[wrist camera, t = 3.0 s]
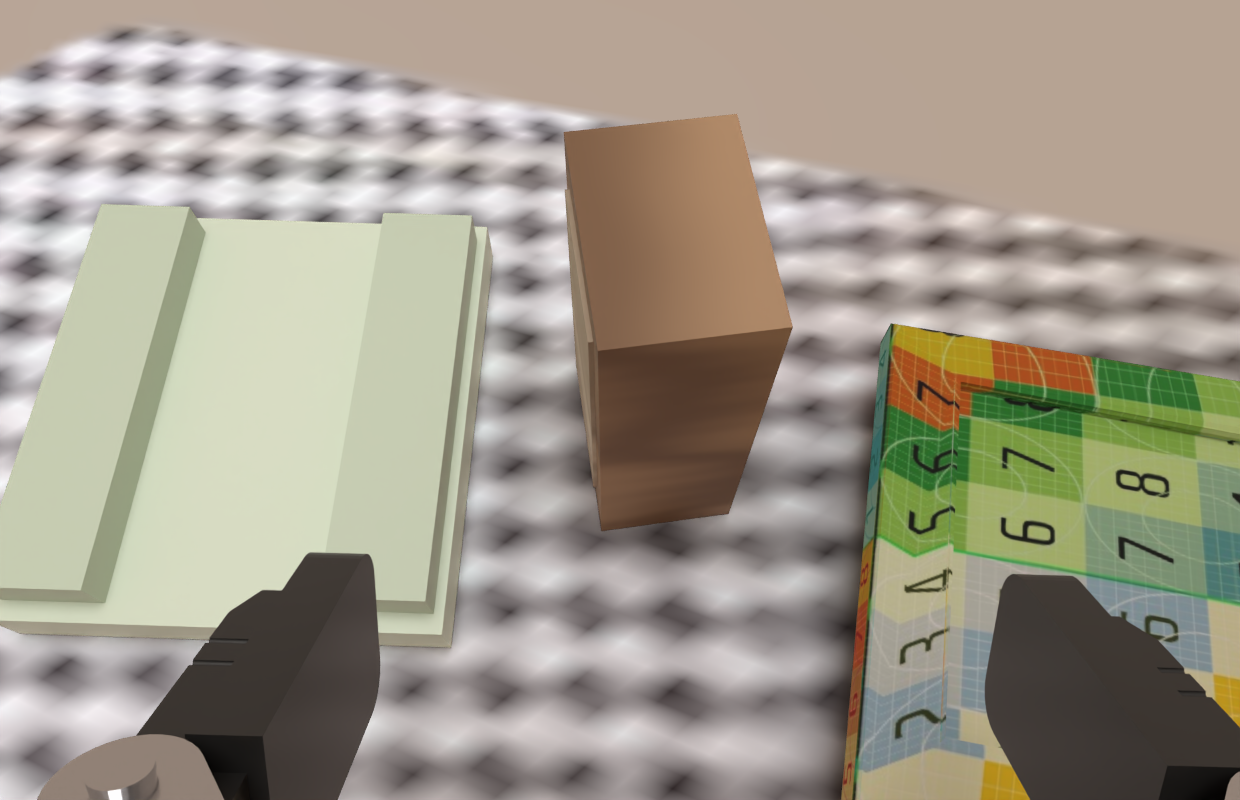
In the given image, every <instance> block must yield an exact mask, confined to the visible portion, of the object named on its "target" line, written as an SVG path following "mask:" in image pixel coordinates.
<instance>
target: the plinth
mask: <svg viewBox="0 0 1240 800" xmlns="http://www.w3.org/2000/svg"><path fill="white" fill-rule="evenodd" d="M492 259H493V255H492V249H491V244H490V239H489V234H488V228H487V227H474V223H473V218H472V216H465V215H433V214H400V213H384V214H383V219H382V224H369V223H336V222H304V221H271V220H239V219H206V218H196V217H195V215H194V213H193V212H192V210H191V209H190V207H173V206H140V205H108V204H101V207H100V210H99V213H98V216H97V219H96V221H95V224H94V227H93V230H92V233H91V236H90V239H89V242H88V245H87V248H86V251H85V254H84V257H83V260H82V263H81V266H80V269H79V272H78V275H77V278H76V281H75V284H74V287H73V290H72V293H71V296H70V299H69V302H68V305H67V308H66V311H65V314H64V317H63V320H62V323H61V326H60V329H59V332H58V335H57V338H56V341H55V344H54V347H53V350H52V353H51V356H50V359H49V362H48V365H47V368H46V371H45V374H44V377H43V380H42V383H41V386H40V388H39V391H38V394H37V397H36V400H35V403H34V406H33V409H32V412H31V415H30V418H29V421H28V424H27V427H26V430H25V433H24V436H23V439H22V442H21V445H20V448H19V451H18V454H17V457H16V460H15V463H14V466H13V469H12V472H11V475H10V478H9V481H8V484H7V487H6V490H5V493H4V496H3V499H2V502H1V505H0V626H2V627H5V628H7V629H10V630H12V631H15V632H17V633H20V634H46V635H77V636H108V637H139V638H170V639H201V640H209V638H210V636H211V635H212V634H213V632H214V631H215V630H216V628H217V627H218V626H219V624H220V623H221V622H222V620H223V619H224V618H225V616H226V615H227V614H228V612H229V611H231V610H232V609H234V608H236V607H237V606H239V605H240V604H242V603H243V602H245V601H246V600H248V599H249V598H251V597H252V596H254V595H255V594H257V593H258V592H260V591H262V590H282V589H283V588H284V586H285V585H286V584H287V582H288V581H289V579H290V578H291V576H292V575H293V573H294V572H295V570H296V569H297V567H298V566H299V564H300V563H301V561H302V560H303V558H304V557H305V556H306V555H307V554H308V553H310V552H322V553H356V554H369V555H370V556H371V559H372V562H373V566H374V574H375V589H376V604H377V620H378V636H379V645H387V646H419V647H450V648H451V643H452V634H453V625H454V615H455V606H456V597H457V587H458V578H459V568H460V559H461V550H462V540H463V531H464V522H465V512H466V503H467V493H468V484H469V475H470V465H471V456H472V447H473V437H474V428H475V419H476V409H477V400H478V390H479V381H480V372H481V362H482V353H483V344H484V334H485V325H486V315H487V306H488V297H489V287H490V278H491V269H492Z"/></svg>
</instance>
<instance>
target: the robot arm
mask: <svg viewBox="0 0 1240 800" xmlns="http://www.w3.org/2000/svg"><path fill="white" fill-rule="evenodd" d="M379 678H380V651H379V636H378V620H377V604H376V589H375V574H374V566H373V562H372V559H371V556H370V555H369V554H356V553H322V552H310V553H308V554H307V555H306V556H305V557H304V558H303V560H302V561H301V563H300V564H299V566H298V567H297V569H296V570H295V572H294V573H293V575H292V576H291V578H290V579H289V581H288V582H287V584H286V585H285V586H284V588H283V589H282V590H262V591H260V592H258V593H257V594H255V595H254V596H252V597H251V598H249V599H248V600H246V601H245V602H243V603H242V604H240V605H239V606H237V607H236V608H234V609H232V610H231V611H229V612H228V614H227V615H226V616H225V618H224V619H223V620H222V622H221V623H220V624H219V626H218V627H217V628H216V630H215V631H214V632H213V634H212V635H211V636H210V638H209V643H205V644H204V646H203V647H202V648H201V650H200V651H199V652H198V654H197V655H196V656H195V658H194V659H193V665H189V666H188V667H187V668H186V670H185V671H184V673H183V674H182V675H181V677H180V678H179V679H178V681H177V682H176V683H175V685H174V686H173V687H172V689H171V690H170V691H169V693H168V694H167V695H166V697H165V698H164V699H163V701H162V702H161V703H160V705H159V706H158V707H157V709H156V710H155V711H154V713H153V714H152V715H151V717H150V718H149V719H148V721H147V722H146V723H145V725H144V726H143V727H142V729H141V730H140V731H139V733H138V734H137V735H136V736H133V737H128V738H123V739H119V740H116V741H112V742H109V743H106V744H104V745H101V746H99V747H96V748H94V749H92V750H90V751H88V752H86V753H84V754H82V755H80V756H79V757H77V758H75V759H74V760H72V761H70V762H69V763H68V764H66V765H65V766H64V767H63V768H61V769H60V770H59V771H58V772H57V773H56V774H55V775H54V776H53V777H52V778H51V779H50V780H49V781H48V782H47V783H46V785H45V786H44V787H43V789H42V791H41V793H40V795H39V796H38V799H37V800H338V797H339V795H340V792H341V790H342V787H343V785H344V782H345V780H346V777H347V775H348V772H349V770H350V767H351V765H352V763H353V760H354V758H355V755H356V753H357V750H358V748H359V745H360V743H361V740H362V738H363V735H364V733H365V730H366V728H367V725H368V723H369V720H370V718H371V716H372V713H373V710H374V707H375V703H376V699H377V694H378V687H379ZM985 705H986V712H987V717H988V720H989V724H990V726H991V729H992V731H993V733H994V735H995V737H996V739H997V741H998V742H999V744H1000V746H1001V748H1002V750H1003V751H1004V753H1005V755H1006V757H1007V759H1008V760H1009V762H1010V764H1011V766H1012V768H1013V770H1014V771H1015V773H1016V775H1017V777H1018V779H1019V780H1020V782H1021V784H1022V786H1023V788H1024V789H1025V791H1026V793H1027V795H1028V797H1029V798H1030V800H1240V727H1239V726H1238V725H1237V724H1236V723H1235V722H1234V721H1233V720H1232V718H1231V717H1230V716H1229V715H1228V714H1227V713H1226V712H1225V711H1224V710H1223V709H1222V708H1221V707H1220V706H1219V705H1218V704H1217V702H1216V701H1215V700H1214V699H1213V698H1212V697H1207V696H1206V691H1205V690H1204V689H1203V687H1202V686H1201V685H1200V684H1199V683H1198V682H1197V681H1196V680H1195V679H1194V678H1193V677H1192V676H1191V675H1190V674H1185V672H1184V667H1183V666H1182V665H1181V664H1180V663H1179V662H1178V661H1177V660H1176V659H1175V658H1174V656H1173V655H1172V654H1171V653H1170V652H1169V651H1168V650H1167V649H1166V648H1165V647H1164V646H1163V645H1162V644H1161V643H1160V642H1159V640H1157V639H1155V638H1154V637H1152V636H1150V635H1149V634H1147V633H1146V632H1144V631H1142V630H1141V629H1139V628H1138V627H1136V626H1134V625H1133V624H1131V623H1129V622H1128V621H1126V620H1125V619H1123V618H1121V617H1120V616H1110V614H1109V613H1108V612H1107V611H1106V610H1105V609H1104V608H1103V607H1102V605H1101V604H1100V603H1099V602H1098V601H1097V600H1096V599H1095V598H1094V596H1093V595H1092V594H1091V593H1090V592H1089V591H1088V590H1087V589H1086V587H1085V586H1084V585H1083V584H1082V583H1081V582H1080V581H1079V580H1078V579H1077V578H1076V577H1074V576H1066V575H1032V574H1011V575H1010V576H1008V577H1007V578H1006V580H1005V582H1004V584H1003V586H1002V589H1001V594H1000V599H999V605H998V610H997V616H996V622H995V627H994V633H993V638H992V644H991V650H990V655H989V661H988V666H987V672H986V678H985Z"/></svg>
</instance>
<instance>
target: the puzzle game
mask: <svg viewBox="0 0 1240 800" xmlns="http://www.w3.org/2000/svg"><path fill="white" fill-rule="evenodd" d="M1011 574H1032V575H1066V576H1074V577H1076V578H1077V579H1078V580H1079V581H1080V582H1081V583H1082V584H1083V585H1084V586H1085V587H1086V589H1087V590H1088V591H1089V592H1090V593H1091V594H1092V595H1093V596H1094V598H1095V599H1096V600H1097V601H1098V602H1099V603H1100V604H1101V605H1102V607H1103V608H1104V609H1105V610H1106V611H1107V612H1108V613H1109V614H1110V616H1120V617H1121V618H1123V619H1125V620H1126V621H1128V622H1129V623H1131V624H1133V625H1134V626H1136V627H1138V628H1139V629H1141V630H1142V631H1144V632H1146V633H1147V634H1149V635H1150V636H1152V637H1154V638H1155V639H1157V640H1159V642H1160V643H1161V644H1162V645H1163V646H1164V647H1165V648H1166V649H1167V650H1168V651H1169V652H1170V653H1171V654H1172V655H1173V656H1174V658H1175V659H1176V660H1177V661H1178V662H1179V663H1180V664H1181V665H1182V666H1183V667H1184V672H1185V674H1190V675H1191V676H1192V677H1193V678H1194V679H1195V680H1196V681H1197V682H1198V683H1199V684H1200V685H1201V686H1202V687H1203V689H1204V690H1205V691H1206V696H1207V697H1212V698H1213V699H1214V700H1215V701H1216V702H1217V704H1218V705H1219V706H1220V707H1221V708H1222V709H1223V710H1224V711H1225V712H1226V713H1227V714H1228V715H1229V716H1230V717H1231V718H1232V720H1233V721H1234V722H1235V723H1236V724H1237V725H1238V726H1239V727H1240V381H1234V380H1228V379H1222V378H1216V377H1210V376H1204V375H1198V374H1192V373H1186V372H1180V371H1174V370H1168V369H1162V368H1156V367H1150V366H1144V365H1138V364H1132V363H1126V362H1120V361H1114V360H1108V359H1102V358H1096V357H1090V356H1084V355H1078V354H1072V353H1066V352H1060V351H1054V350H1048V349H1042V348H1036V347H1030V346H1024V345H1018V344H1012V343H1006V342H1000V341H994V340H988V339H982V338H976V337H970V336H964V335H958V334H952V333H946V332H940V331H934V330H928V329H922V328H916V327H910V326H904V325H898V324H892V323H891V324H890V326H889V328H888V330H887V332H886V334H885V336H884V338H883V340H882V341H881V346H880V357H879V369H878V380H877V392H876V403H875V415H874V426H873V438H872V450H871V461H870V473H869V484H868V496H867V507H866V519H865V531H864V542H863V554H862V565H861V577H860V588H859V600H858V612H857V623H856V635H855V646H854V658H853V669H852V681H851V693H850V704H849V716H848V727H847V739H846V750H845V762H844V774H843V785H842V797H841V800H1030V798H1029V797H1028V795H1027V793H1026V791H1025V789H1024V788H1023V786H1022V784H1021V782H1020V780H1019V779H1018V777H1017V775H1016V773H1015V771H1014V770H1013V768H1012V766H1011V764H1010V762H1009V760H1008V759H1007V757H1006V755H1005V753H1004V751H1003V750H1002V748H1001V746H1000V744H999V742H998V741H997V739H996V737H995V735H994V733H993V731H992V729H991V726H990V724H989V720H988V717H987V712H986V705H985V678H986V672H987V666H988V661H989V655H990V650H991V644H992V638H993V633H994V627H995V622H996V616H997V610H998V605H999V599H1000V594H1001V589H1002V586H1003V584H1004V582H1005V580H1006V578H1007V577H1008V576H1010V575H1011Z"/></svg>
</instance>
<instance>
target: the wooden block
mask: <svg viewBox="0 0 1240 800" xmlns="http://www.w3.org/2000/svg"><path fill="white" fill-rule="evenodd" d="M564 142H565V159H566V175H567V190H565V198H566V214H567V230H568V245H569V261H570V276H571V292H572V307H573V323H574V338H575V354H576V368H577V375H578V382H579V389H580V396H581V403H582V410H583V417H584V424H585V431H586V438H587V445H588V452H589V459H590V466H591V473H592V480H593V487H595V489H596V496H597V503H598V510H599V517H600V524H601V531H605V530H612V529H620V528H627V527H634V526H642V525H649V524H656V523H664V522H671V521H678V520H686V519H693V518H700V517H708V516H715V515H722V514H729V511H730V508H731V505H732V502H733V499H734V496H735V494H736V491H737V488H738V485H739V482H740V479H741V476H742V473H743V470H744V467H745V464H746V462H747V459H748V456H749V453H750V450H751V447H752V444H753V441H754V438H755V435H756V432H757V430H758V427H759V424H760V421H761V418H762V415H763V412H764V409H765V406H766V403H767V400H768V397H769V395H770V392H771V389H772V386H773V383H774V380H775V377H776V374H777V371H778V368H779V365H780V363H781V360H782V357H783V354H784V351H785V348H786V345H787V342H788V339H789V336H790V333H791V330H792V328H793V326H792V323H791V319H790V315H789V311H788V307H787V303H786V300H785V296H784V292H783V288H782V284H781V280H780V277H779V273H778V269H777V265H776V261H775V257H774V254H773V250H772V246H771V242H770V238H769V234H768V231H767V227H766V223H765V219H764V215H763V211H762V208H761V204H760V200H759V196H758V192H757V189H756V185H755V181H754V177H753V173H752V169H751V166H750V162H749V158H748V154H747V150H746V146H745V143H744V139H743V135H742V131H741V127H740V124H739V120H738V116H737V114H734V115H733V114H732V115H723V116H713V117H704V118H694V119H685V120H675V121H665V122H656V123H646V124H637V125H627V126H618V127H608V128H599V129H589V130H580V131H570V132H564Z"/></svg>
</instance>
